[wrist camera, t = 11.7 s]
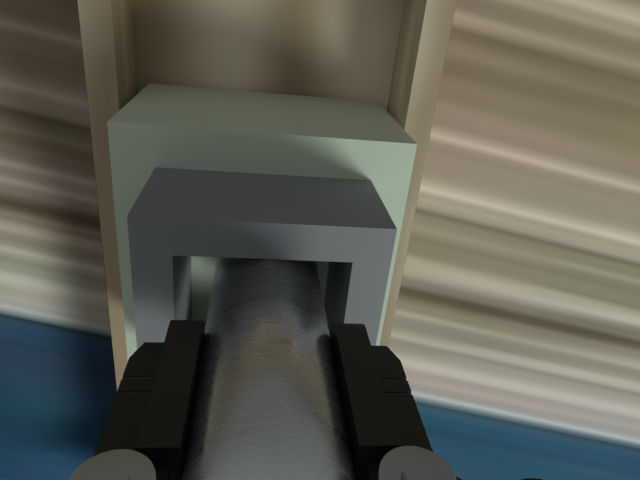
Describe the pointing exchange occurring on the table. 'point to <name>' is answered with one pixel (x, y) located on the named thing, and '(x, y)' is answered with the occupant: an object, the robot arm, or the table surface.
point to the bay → (262, 77)
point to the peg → (267, 379)
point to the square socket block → (254, 198)
